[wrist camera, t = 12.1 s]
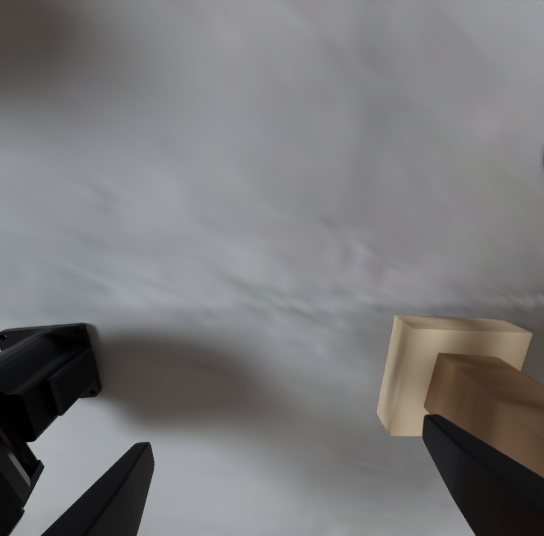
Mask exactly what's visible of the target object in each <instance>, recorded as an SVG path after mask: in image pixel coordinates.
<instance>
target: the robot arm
mask: <svg viewBox="0 0 544 536" xmlns="http://www.w3.org/2000/svg"><path fill="white" fill-rule="evenodd" d="M77 329H79V330H80V332H78V331H77ZM0 349H1V352H0V536H9V535H10V534H11V533H12V531H13V530H14V528H15V527H16V526H17V524H18V523H19V521H20V520H21V518H22V516H23V514H24V512H25V511H24V509H23V508H24V506H25V504H26V502H27V500H28V499H29V497H30V495H31V493H32V491H33V489H34V487H35V485H36V483H37V481H38V479H39V477H40V475H41V473H42V471H43V469H44V467H45V466H44V465H43V463H42V462H41V460H37V458H36V457H35V455H34V454H33V452H32V451H31V449H30V448H29V446H28V445H27V443H26V442H33V441H35V440H36V439H37V438H38V437H39V436H40V435H41V434H42V433H43V432H44V431H45V430H46V429H47V428H48V427H49V426H50V424H51V423H52V422H53V421H54V420H55V419H56V418H57V417H58V416H62V415H64V414H65V412H66V411H67V410H68V409H69V408H70V407H71V406H72V405H73V404H74V403H75V402H76V401H77V400H78V398H88V397H96V396H97V395H98V394H99V393H100V392H101V390H102V388H101V384H100V380H99V374H98V370H97V366H96V362H95V358H94V354H93V351H92V348H91V345H90V341H89V337H88V333H87V329H86V327H85V326H84V325H83V324H79V323H78V324H66V325H53V326H41V327H28V328H16V329H5V330H3V331H1V332H0ZM93 389H94V390H95V391H94V390H93ZM422 437H423V441H424V443H425V445H426V447H427V449H428V451H429V453H430V455H431V457H432V459H433V461H434V463H435V465H436V467H437V469H438V471H439V473H440V475H441V477H442V479H443V481H444V482H445V484H446V486H447V488H448V490H449V492H450V494H451V496H452V498H453V499H454V501H455V503H456V504H457V506H458V508H459V509H460V511H461V513H462V514H463V516H464V518H465V519H466V521H467V522H468V524H469V526H470V527H471V529H472V531H473V532H474V534H475V535H476V536H544V478H543V477H542V476H540V475H538V474H537V473H535V472H533V471H532V470H530V469H528V468H527V467H525V466H524V465H522V464H520V463H519V462H517V461H515V460H514V459H512V458H510V457H509V456H507V455H505V454H504V453H502V452H500V451H499V450H497V449H495V448H494V447H492V446H491V445H489V444H487V443H486V442H484V441H482V440H481V439H479V438H477V437H476V436H474V435H472V434H471V433H469V432H467V431H466V430H464V429H462V428H461V427H459V426H458V425H456V424H454V423H453V422H451V421H449V420H448V419H446V418H444V417H443V416H441V415H439V414H426V415H425V416H424V419H423V429H422ZM153 471H154V457H153V453H152V448H151V444H150V443H149V442H140V443H136V444H134V445H133V446H132V447H131V448H130V449H129V450H128V451H127V452H126V453H125V454H124V455H123V456H122V457H121V458H120V459H119V460H118V461H117V462H116V463H115V464H114V465H113V466H112V467H111V468H110V469H109V470H108V471H107V472H106V473H104V474H103V475H102V476H101V477H100V478H99V479H98V480H97V481H96V482H95V483H94V484H93V485H92V486H91V487H90V488H89V489H88V490H87V491H86V492H85V493H84V494H83V495H82V496H81V497H80V498H79V499H78V500H77V501H76V502H75V503H74V504H73V505H72V506H71V507H70V508H69V509H68V510H67V511H66V512H64V513H63V514H62V515H61V516H60V517H59V518H58V519H57V520H56V521H55V522H54V523H53V524H52V525H51V526H50V527H49V528H48V529H47V530H46V531H45V532H44V533H43V534H42V535H41V536H137V533H138V529H139V526H140V522H141V518H142V514H143V510H144V506H145V503H146V499H147V495H148V491H149V487H150V483H151V479H152V475H153Z"/></svg>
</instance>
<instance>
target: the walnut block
mask: <svg viewBox="0 0 544 536" xmlns="http://www.w3.org/2000/svg"><path fill="white" fill-rule="evenodd" d="M423 407H424V408H425V409H426V410H427V412H428V413H429V414H439V415H441V416H443V417H444V418H446V419H448V420H449V421H451V422H453V423H454V424H456V425H458V426H459V427H461V428H462V429H464V430H466V431H467V432H469V433H471V434H472V435H474V436H476V437H477V438H479V439H481V440H482V441H484V442H486V443H487V444H489V445H491V446H492V447H494V448H495V449H497V450H499V451H500V452H502V453H504V454H505V455H507V456H509V457H510V458H512V459H514V460H515V461H517V462H519V463H520V464H522V465H524V466H525V467H527V468H528V469H530V470H532V471H533V472H535V473H537V474H538V475H540V476H542V477H543V478H544V386H543V385H541V384H540V383H538V382H536V381H535V380H533V379H532V378H530V377H529V376H527V375H525V374H524V373H522V372H521V371H519V370H517V369H516V368H514V367H513V366H511V365H509V364H508V363H506V362H505V361H503V360H501V359H500V358H498V357H488V356H475V355H462V354H450V353H438V355H437V359H436V362H435V366H434V370H433V373H432V377H431V381H430V384H429V388H428V392H427V395H426V399H425V403H424V406H423Z"/></svg>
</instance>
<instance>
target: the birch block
mask: <svg viewBox="0 0 544 536" xmlns="http://www.w3.org/2000/svg"><path fill="white" fill-rule="evenodd" d="M532 335H533V333H531V332H529V331H527V330H525V329H523V328H520V327H518V326H516V325H514V324H512V323H510V322H507V321H505V320H500V319H475V318H450V317H426V316H401V315H395V319H394V324H393V329H392V335H391V340H390V345H389V350H388V356H387V361H386V366H385V371H384V377H383V382H382V387H381V392H380V398H379V403H378V408H377V415H378V417H379V418H380V420H381V422H382V423H383V425H384V427H385V429H386V430H387V432H388V434H389V436H422V429H423V419H424V416H425V415H426V414H429V413H428V412H427V410H426V409H425V408H424V407H423V406H424V403H425V399H426V395H427V392H428V388H429V384H430V381H431V377H432V373H433V370H434V366H435V362H436V359H437V355H438V353H450V354H462V355H475V356H488V357H498V358H500V359H501V360H503V361H505V362H506V363H508V364H509V365H511V366H513V367H514V368H516V369H517V370H519V371H521V368H522V365H523V362H524V359H525V356H526V353H527V350H528V347H529V344H530V341H531V338H532Z"/></svg>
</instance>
